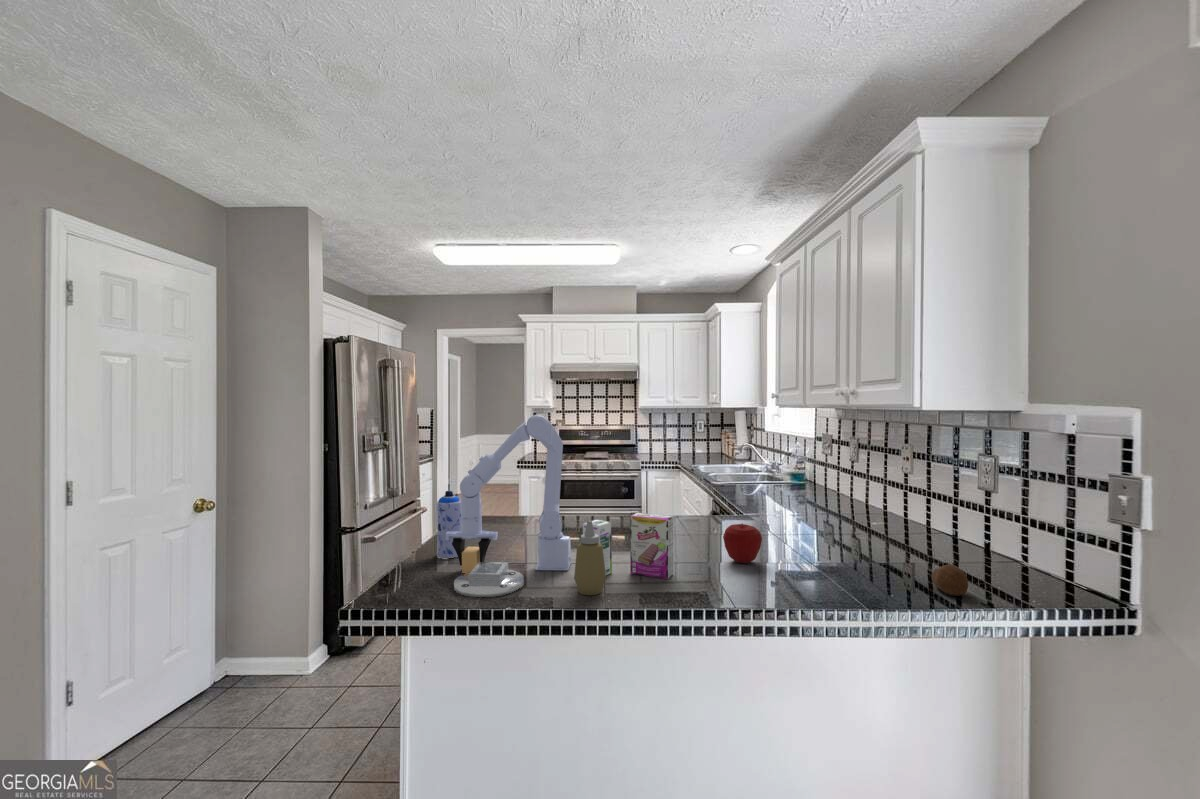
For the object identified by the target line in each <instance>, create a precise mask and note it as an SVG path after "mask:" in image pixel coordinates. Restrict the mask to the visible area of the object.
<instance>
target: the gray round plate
mask: <svg viewBox="0 0 1200 799" xmlns="http://www.w3.org/2000/svg"><path fill="white" fill-rule="evenodd" d="M524 580H525V579H524V575H523V574H522V573H521V572H519V571H517V570H513V569H509V562H505V561H504V562H500V561H499V562H497V561H496V562H495V561H493V562H492V561H491V562H490V561H488V562H487V561H484V562H479V563H478V564H477V565H476V566H475V567H474V569H473V570H472V571H471V572H468V573H465V574H461V575H459V576H457V577H456V578H455V579H454V581H453V590H454V591H456V593H457V594H458V593H459V594H458V595H460V594H461V595H460V596H463V595H464V596H463V597H467V596H469V597H468V598H475V597H487V598H497V597H501V596H505V595H506V594H507V595H509V593H510V594H513V593H515V592H517V591H518V589H519V588H520V589H521V588H523V586H524V584H525V581H524ZM520 589H519V590H520ZM516 590H517V591H516ZM514 591H515V592H514ZM512 592H513V593H512ZM496 596H497V597H496Z"/></svg>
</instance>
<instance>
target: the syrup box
mask: <svg viewBox="0 0 1200 799" xmlns="http://www.w3.org/2000/svg"><path fill="white" fill-rule="evenodd" d="M591 521H592V524H593V528H594V533H595V534H597V535H599V542H598V543H600V544H601V545H602V546H603V554H604V563H605V572H606V576H608V575H610V574H612V573H613V561H612V559H613V558H612V551H613V550H612V522H611V521H607V520H604V519H594V520H591ZM586 526H587V522H584V523H582V535H583V534H585V531H586Z"/></svg>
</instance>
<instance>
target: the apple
mask: <svg viewBox="0 0 1200 799" xmlns="http://www.w3.org/2000/svg"><path fill="white" fill-rule="evenodd" d="M722 538H723V544H724V547H725V548H724V549H725V551H726V552H727V554H728V557H729V558H730V559H732V560H733V561H734V562H736V563H740V564H750V563H752V562H753V561H754V560H756V558H757V556H758V553H759V552H760V549H761V546H762V545H761V544H762V542H763V537H762V533H761V531H760V530H759V529H758V528H757V527H756V526H753V525H750V524H746V523H745V524H744V523H737V524H731V525H729V526H728V527H726V528H725V530H724V533H723V535H722Z"/></svg>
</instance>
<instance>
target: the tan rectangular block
mask: <svg viewBox="0 0 1200 799" xmlns="http://www.w3.org/2000/svg"><path fill="white" fill-rule="evenodd" d="M479 562H480V551H479V546H467V547H466V548H464V551H463V552H462V566H461V574H462V573H468V572H471V571H472V570H473V569H474V567H475V566H476V565H477V564H478V563H479Z"/></svg>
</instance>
